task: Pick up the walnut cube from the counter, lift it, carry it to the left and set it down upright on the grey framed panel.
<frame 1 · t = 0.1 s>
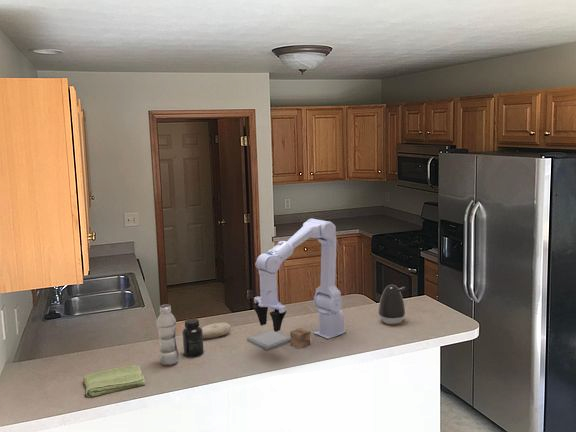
hand: (270, 327, 183), 10 cm above the worktop, fingers open, 7 cm apart
pump dispenser: (392, 322, 212), on the worktop
grey framed panel: (270, 340, 197), on the worktop
washcloth: (114, 385, 169), on the worktop
stone: (215, 336, 203), on the worktop
cube: (300, 344, 194), on the worktop
plastic bottle: (169, 363, 181), on the worktop
supplement bottle: (193, 354, 188), on the worktop
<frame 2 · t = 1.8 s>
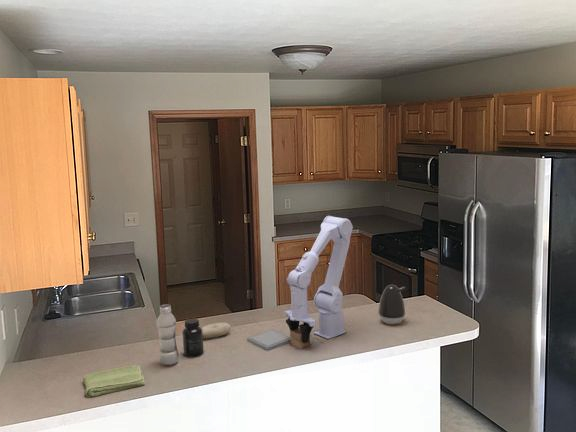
hand: (300, 340, 193), 2 cm above the worktop, fingers closed on cube, 5 cm apart
cube: (300, 344, 193), on the worktop, touching gripper
everything else where it was.
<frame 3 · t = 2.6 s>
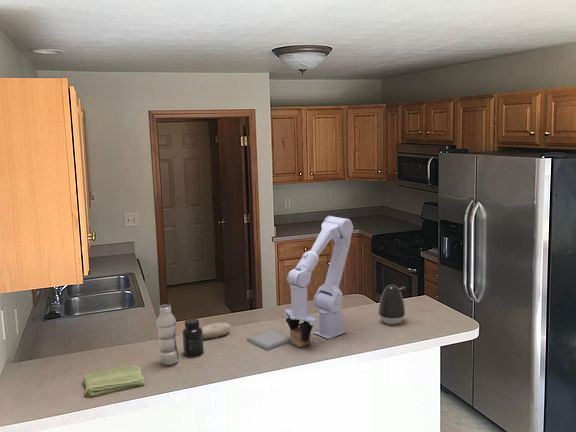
hand: (300, 338, 193), 2 cm above the worktop, fingers closed on cube, 5 cm apart
cube: (300, 343, 193), on the worktop, touching gripper
everything else where it was.
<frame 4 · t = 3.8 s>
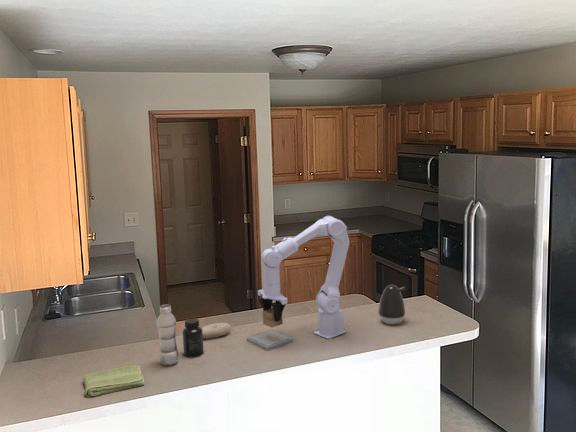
hand: (272, 318, 195), 9 cm above the worktop, fingers closed on cube, 5 cm apart
cube: (272, 323, 195), point 7 cm above the worktop, touching gripper
everything else where it was.
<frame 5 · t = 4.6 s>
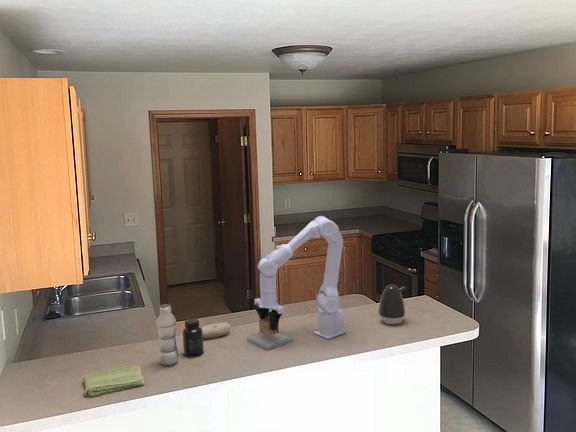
hand: (269, 327, 196), 5 cm above the worktop, fingers closed on cube, 5 cm apart
cube: (269, 332, 197), point 3 cm above the worktop, touching gripper
everything else where it was.
when the fingers open (4 cm above the worktop, at t = 5.4 s): cube stays where it is, resting on grey framed panel.
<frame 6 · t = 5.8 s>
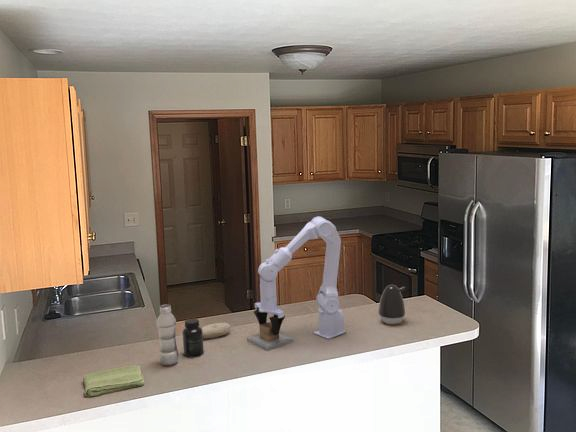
hand: (269, 331, 197), 4 cm above the worktop, fingers open, 7 cm apart
cube: (269, 338, 197), point 1 cm above the worktop, touching grey framed panel
everything else where it was.
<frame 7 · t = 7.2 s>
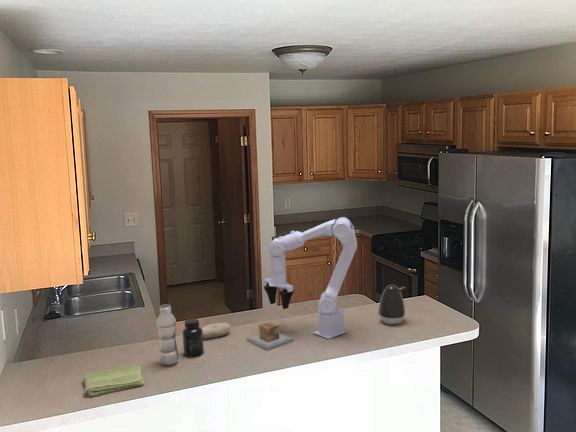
hand: (279, 305, 204), 10 cm above the worktop, fingers open, 7 cm apart
nothing on the worktop moved.
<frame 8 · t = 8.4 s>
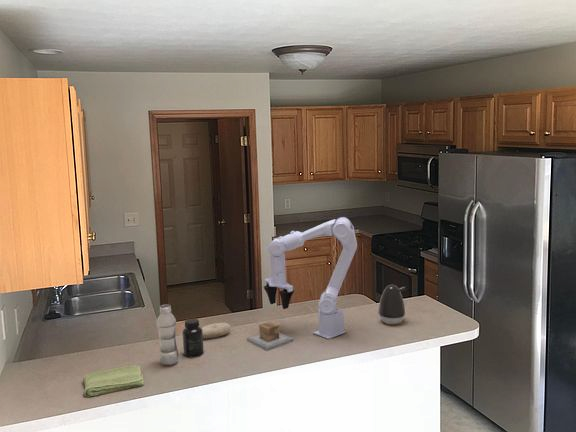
hand: (279, 305, 204), 10 cm above the worktop, fingers open, 7 cm apart
nothing on the worktop moved.
at the end: cube inside the target area on the grey framed panel (0.2 cm from its centre), point 1.1 cm above the grey framed panel's base; cube tilted 0°; the gripper is holding nothing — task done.
